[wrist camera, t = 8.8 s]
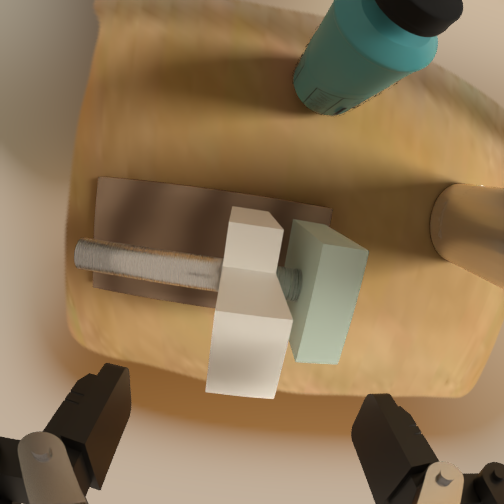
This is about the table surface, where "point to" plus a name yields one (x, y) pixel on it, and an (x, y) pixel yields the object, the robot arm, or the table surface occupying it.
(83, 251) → the steel pipe
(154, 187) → the pipe board
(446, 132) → the table surface
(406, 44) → the beverage bottle
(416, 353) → the table surface
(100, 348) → the table surface
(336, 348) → the mount block
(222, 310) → the white stepped block
